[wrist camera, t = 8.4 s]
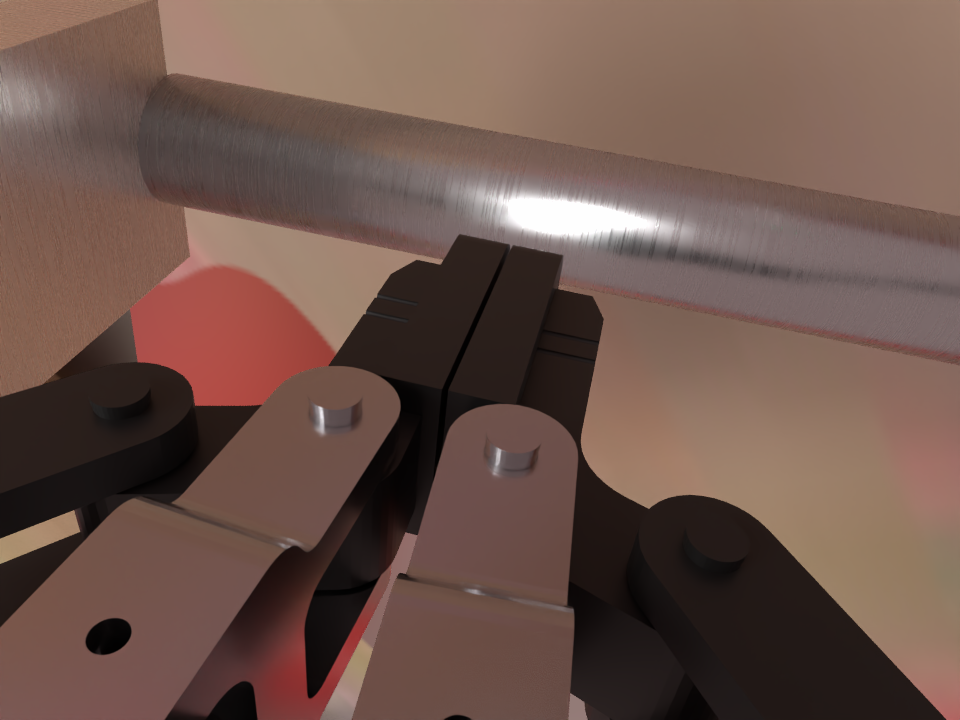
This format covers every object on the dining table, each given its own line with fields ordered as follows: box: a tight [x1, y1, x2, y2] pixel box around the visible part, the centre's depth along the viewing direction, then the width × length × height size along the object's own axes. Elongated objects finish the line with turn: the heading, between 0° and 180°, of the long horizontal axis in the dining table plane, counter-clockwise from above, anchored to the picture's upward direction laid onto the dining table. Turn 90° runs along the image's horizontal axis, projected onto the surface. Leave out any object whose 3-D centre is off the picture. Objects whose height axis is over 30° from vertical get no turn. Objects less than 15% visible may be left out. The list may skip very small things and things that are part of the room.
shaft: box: [0, 0, 960, 397], centre depth 11 cm, size 26×5×8 cm, turn 84°
